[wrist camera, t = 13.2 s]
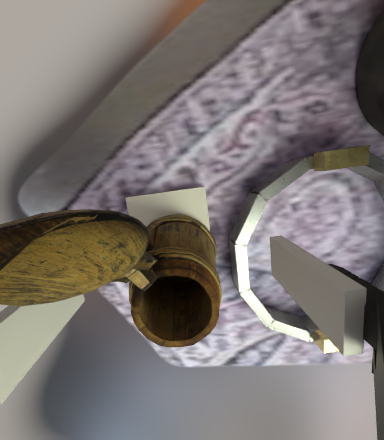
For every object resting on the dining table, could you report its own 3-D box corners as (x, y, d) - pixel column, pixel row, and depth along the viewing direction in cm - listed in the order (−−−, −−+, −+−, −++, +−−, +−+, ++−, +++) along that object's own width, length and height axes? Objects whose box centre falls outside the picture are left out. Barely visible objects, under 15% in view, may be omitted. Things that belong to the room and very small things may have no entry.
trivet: (127, 197, 24) (125, 197, 23) (204, 186, 24) (205, 186, 23) (141, 268, 26) (140, 271, 25) (212, 258, 26) (213, 260, 25)
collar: (221, 166, 24) (231, 163, 19) (407, 141, 25) (458, 133, 20) (238, 336, 29) (249, 365, 24) (393, 310, 29) (431, 334, 25)
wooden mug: (160, 165, 23) (95, 124, 5) (229, 257, 25) (346, 441, 8) (97, 214, 23) (-158, 330, 6) (171, 298, 26) (157, 555, 8)
